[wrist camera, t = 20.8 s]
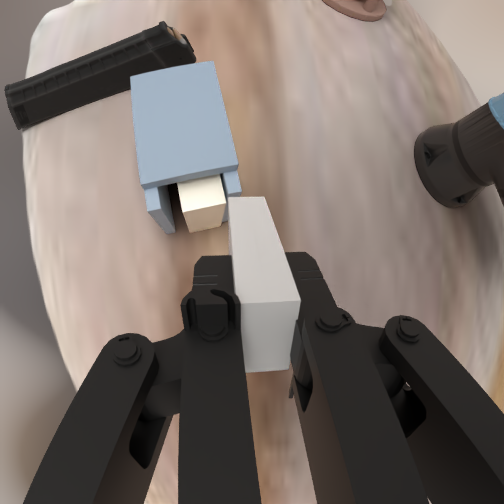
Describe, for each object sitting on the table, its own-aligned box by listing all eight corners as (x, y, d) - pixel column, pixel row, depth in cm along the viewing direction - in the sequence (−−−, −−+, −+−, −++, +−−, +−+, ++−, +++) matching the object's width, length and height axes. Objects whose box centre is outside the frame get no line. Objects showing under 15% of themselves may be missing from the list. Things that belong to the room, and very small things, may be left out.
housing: (230, 220, 39) (243, 186, 25) (166, 234, 38) (144, 207, 24) (209, 126, 40) (213, 60, 26) (151, 137, 39) (130, 76, 24)
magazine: (-17, 116, 27) (158, -6, 23) (-14, 100, 27) (156, -18, 23) (51, 145, 44) (200, 68, 40) (51, 131, 44) (196, 54, 40)
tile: (220, 226, 39) (226, 202, 27) (190, 233, 38) (182, 212, 27) (201, 137, 40) (201, 87, 28) (173, 142, 39) (163, 94, 27)
